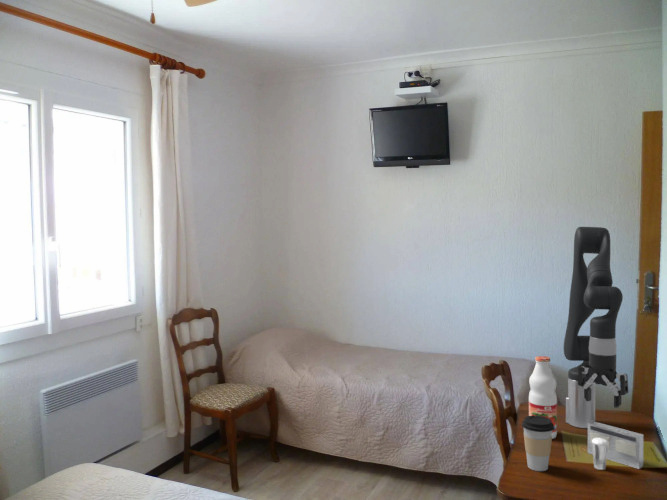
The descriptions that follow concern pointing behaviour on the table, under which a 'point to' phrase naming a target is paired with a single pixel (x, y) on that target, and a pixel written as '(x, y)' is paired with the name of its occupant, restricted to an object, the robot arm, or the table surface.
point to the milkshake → (600, 452)
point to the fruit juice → (543, 392)
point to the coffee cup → (537, 441)
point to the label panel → (618, 444)
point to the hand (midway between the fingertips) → (602, 403)
